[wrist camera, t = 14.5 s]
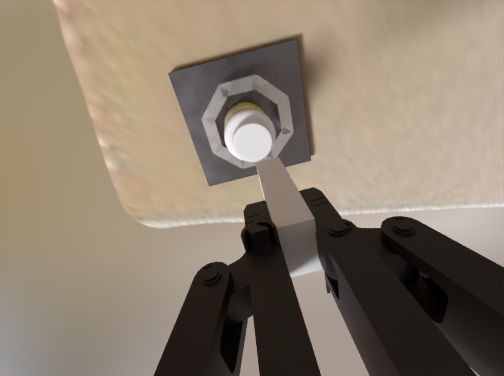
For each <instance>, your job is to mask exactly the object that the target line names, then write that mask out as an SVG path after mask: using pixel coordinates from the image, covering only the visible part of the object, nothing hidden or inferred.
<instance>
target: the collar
mask: <svg viewBox="0 0 504 376" xmlns="http://www.w3.org/2000/svg"><path fill="white" fill-rule="evenodd" d="M168 74H169V77H170V80H171V83H172V85H173V88H174V91H175V94H176V96H177V99H178V102H179V105H180V107H181V110H182V113H183V116H184V118H185V121H186V124H187V127H188V129H189V132H190V135H191V138H192V140H193V143H194V146H195V149H196V151H197V154H198V157H199V160H200V162H201V165H202V168H203V171H204V173H205V176H206V179H207V182H208V184H209V186H213V185H217V184H220V183H224V182H228V181H232V180H236V179H240V178H244V177H248V176H252V175H256V174H258V172H257V168H256V164H255V163H257V162H261V161H265V160H269V159H273V158H277V157H279V158H280V160H281V161H282V163H283V165H284V167H287V166H291V165H295V164H299V163H303V162H307V161H311V157H310V149H309V140H308V132H307V123H306V115H305V106H304V98H303V89H302V81H301V72H300V64H299V55H298V47H297V39H295V40H291V41H287V42H284V43H280V44H276V45H272V46H269V47H265V48H261V49H257V50H253V51H250V52H246V53H242V54H238V55H235V56H231V57H227V58H223V59H219V60H216V61H212V62H208V63H204V64H201V65H197V66H193V67H189V68H185V69H182V70H178V71H174V72H170V73H168ZM244 101H246V102H252V103H254V104H256V105H257V106H259V107H260V108H261V109H262V111H263V112H264V113H265V114H266V115H267V116H268V117H269V118H270V120H271V121H272V123H273V125H274V128H275V132H276V138H275V143H274V145H273V147H272V149H271V151H270V152H269V153H268V155H267V156H266V157H265V158H263V159H262V160H259V161H256V162H248V161H244V160H240V159H238V158H236V157H235V156H234V155H232V154H231V153H230V151H229V150H228V148H227V146H226V144H225V139H224V125H225V116H226V114H227V112H228V110H229V109H230V108H231V107H232V106H233V105H235V104H236V103H239V102H244Z"/></svg>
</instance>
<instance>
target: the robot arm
mask: <svg viewBox="0 0 504 376" xmlns="http://www.w3.org/2000/svg"><path fill="white" fill-rule="evenodd" d="M255 164H256V168H257V172H258V176H259V181H260V185H261V189H262V193H263V197H264V201H261V202H257V203H253V204H249V205H247V206H246V208H245V210H244V218H245V227H244V229H243V230H242V232H241V238H242V241H243V244H244V247H245V250H246V252H245V254H244V255H243V256H242V257H241V258H240V259H239V260H237V261H236V262H234V263H232V264H230V265H228V266H227V265H226V264H224V263H223V262H213V263H209V264H207V265H205V266H204V267H202V268H201V269H200V270H199V271H198V272H197V274H196V275H195V277H194V279H193V282H192V284H191V287H190V289H189V291H188V294H187V296H186V299H185V301H184V304H183V306H182V308H181V311H180V313H179V316H178V318H177V321H176V323H175V325H174V328H173V330H172V332H171V335H170V337H169V340H168V342H167V345H166V347H165V349H164V352H163V354H162V357H161V359H160V361H159V364H158V366H157V369H156V371H155V374H154V376H239V374H240V367H241V361H242V354H243V348H244V341H245V334H246V328H247V321H248V318H249V317H250V316H252V315H253V318H254V327H255V336H256V345H257V354H258V364H259V371H260V372H259V373H260V376H321V374H320V370H319V368H318V364H317V361H316V357H315V354H314V351H313V348H312V345H311V341H310V338H309V335H308V332H307V328H306V325H305V322H304V319H303V316H302V312H301V309H300V306H299V303H298V299H297V296H296V293H295V289H294V286H293V283H292V280H291V277H295V276H299V275H303V274H307V273H312V272H316V271H320V270H321V265H322V266H323V269H324V271H325V280H326V288H327V293H330V291H331V293H332V295H333V297H334V299H335V301H336V304H337V306H338V308H339V310H340V312H341V314H342V316H343V319H344V321H345V323H346V325H347V327H348V330H349V332H350V334H351V336H352V338H353V340H354V343H355V345H356V347H357V349H358V351H359V353H360V355H361V358H362V360H363V362H364V364H365V366H366V369H367V371H368V373H369V375H370V376H477V375H476V374H475V373H474V372H473V370H474V371H476V372H477V374H479V375H480V376H504V267H502V266H500V265H498V264H496V263H495V262H493V261H491V260H489V259H487V258H485V257H483V256H482V255H480V254H478V253H476V252H474V251H472V250H471V249H469V248H467V247H465V246H463V245H462V244H460V243H458V242H456V241H454V240H452V239H450V238H448V237H447V236H445V235H443V234H441V233H439V232H437V231H436V230H434V229H432V228H430V227H428V226H427V225H425V224H423V223H421V222H419V221H417V220H415V219H412V218H408V217H403V216H397V217H391V218H387V219H386V220H384V221H383V222H382V225H381V228H358V227H356V226H355V225H354V224H353V223H352V222H350V221H348V220H345V219H342V218H341V216H340V215H339V214H338V212H337V211H336V210H335V208H334V207H333V206H332V204H331V203H329V201H328V199H327V198H326V197H325V195H324V194H323V193H322V191H320V190H318V189H316V188H314V187H313V188H309V189H305V190H301V191H298V189H297V187H296V186H295V184H294V182H293V180H292V179H291V177H290V175H289V173H288V172H287V170H286V168H285V167H284V165H283V163H282V161H281V160H280V158H279V157H277V158H273V159H269V160H265V161H261V162H257V163H255ZM320 262H321V264H320ZM469 366H470V367H471V368H472V369H473V370H472V369H471V368H470V367H469Z"/></svg>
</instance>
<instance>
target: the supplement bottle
mask: <svg viewBox="0 0 504 376" xmlns="http://www.w3.org/2000/svg"><path fill="white" fill-rule="evenodd" d="M275 138H276V132H275V128H274V125H273V123H272V121H271V120H270V118H269V117H268V116H267V115H266V114H265V113H264V112H263V111H262V109H261V108H260V107H259V106H257V105H256V104H254V103H252V102H246V101H244V102H239V103H236V104H235V105H233V106H232V107H231V108H230V109H229V110H228V112H227V114H226V116H225V125H224V139H225V144H226V146H227V148H228V150H229V151H230V153H231V154H232V155H234V156H235V157H236V158H238V159H240V160H244V161H248V162H256V161H259V160H262V159H263V158H265V157H266V156H267V155H268V153H269V152H270V151H271V149H272V147H273V145H274V143H275Z"/></svg>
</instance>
